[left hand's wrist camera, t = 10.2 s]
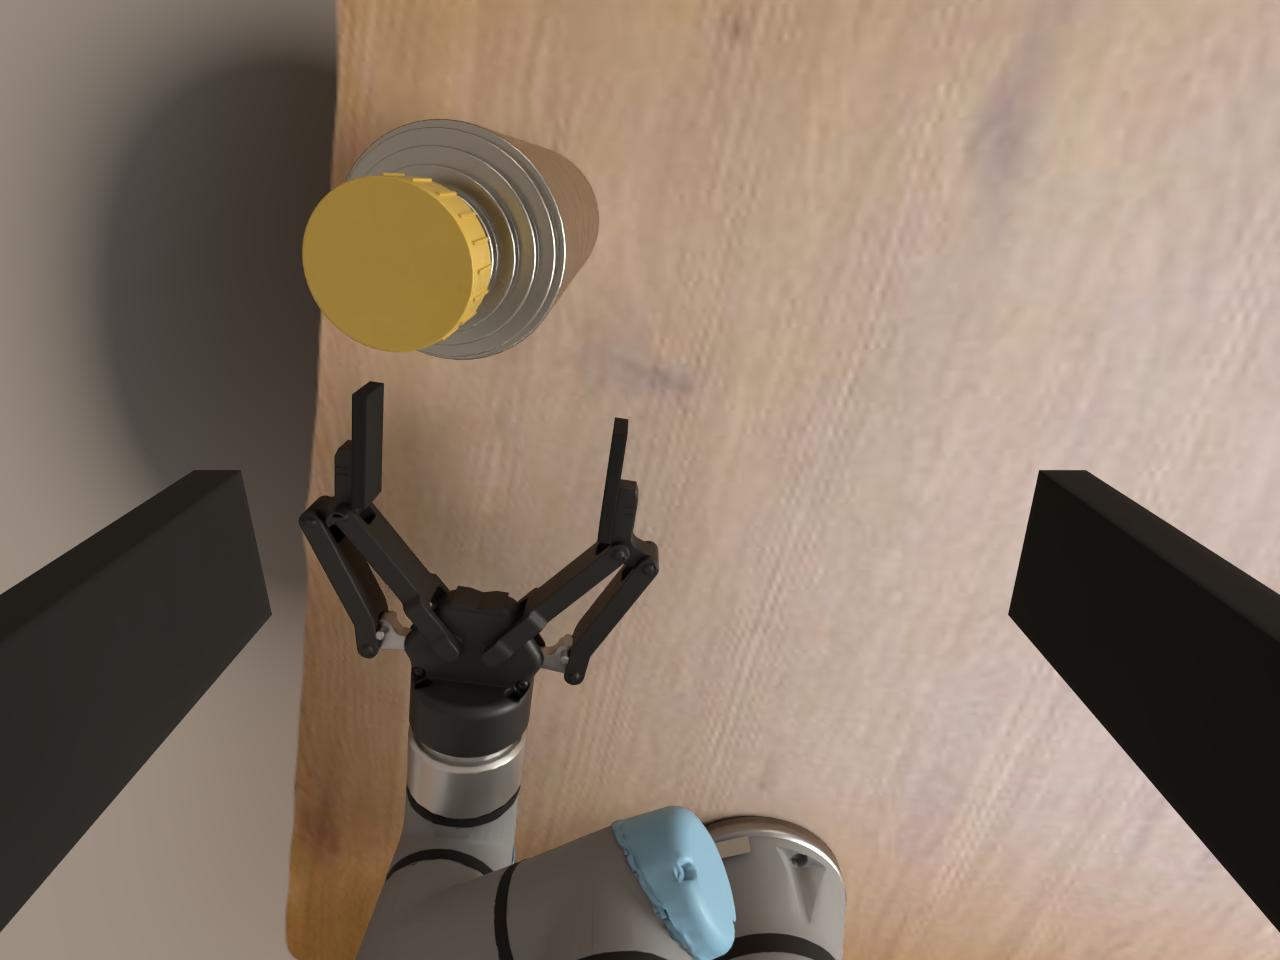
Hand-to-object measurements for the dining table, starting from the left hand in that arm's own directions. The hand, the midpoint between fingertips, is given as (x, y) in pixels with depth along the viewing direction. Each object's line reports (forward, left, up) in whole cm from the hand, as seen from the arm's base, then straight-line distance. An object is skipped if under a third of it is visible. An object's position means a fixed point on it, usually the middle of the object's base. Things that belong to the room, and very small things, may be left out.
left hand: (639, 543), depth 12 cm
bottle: (-1, -7, -34) cm, 34 cm away
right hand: (+8, -5, -27) cm, 29 cm away
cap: (-1, -7, -8) cm, 11 cm away
